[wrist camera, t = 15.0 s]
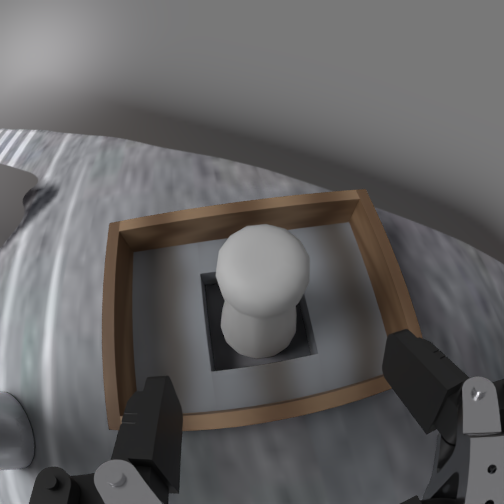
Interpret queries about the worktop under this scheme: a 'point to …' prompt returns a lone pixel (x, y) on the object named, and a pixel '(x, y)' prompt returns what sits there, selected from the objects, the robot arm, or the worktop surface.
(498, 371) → the worktop surface
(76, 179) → the worktop surface
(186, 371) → the bore box
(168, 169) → the worktop surface
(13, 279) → the worktop surface
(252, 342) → the salt shaker
